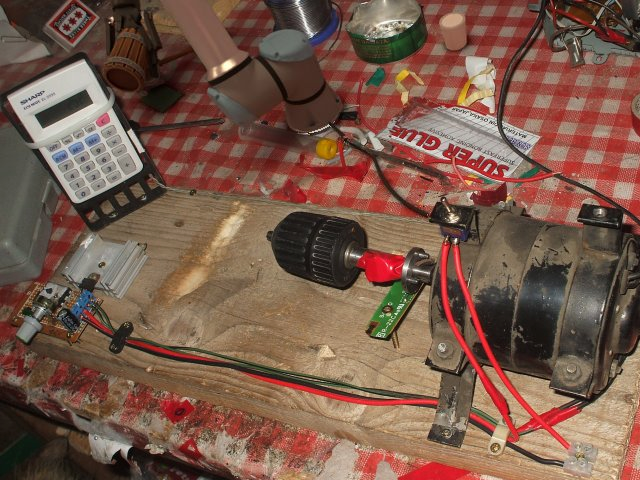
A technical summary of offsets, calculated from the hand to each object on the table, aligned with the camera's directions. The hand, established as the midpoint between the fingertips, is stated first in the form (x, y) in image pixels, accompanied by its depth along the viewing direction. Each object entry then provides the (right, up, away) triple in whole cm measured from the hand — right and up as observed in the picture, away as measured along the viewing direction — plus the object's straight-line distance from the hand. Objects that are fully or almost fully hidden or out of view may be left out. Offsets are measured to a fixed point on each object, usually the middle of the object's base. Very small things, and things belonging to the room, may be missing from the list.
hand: (140, 79), depth 175 cm
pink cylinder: (+88, +7, -9) cm, 88 cm away
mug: (-1, -4, -5) cm, 6 cm away
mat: (+2, -2, +9) cm, 10 cm away
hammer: (+8, +10, +15) cm, 20 cm away
